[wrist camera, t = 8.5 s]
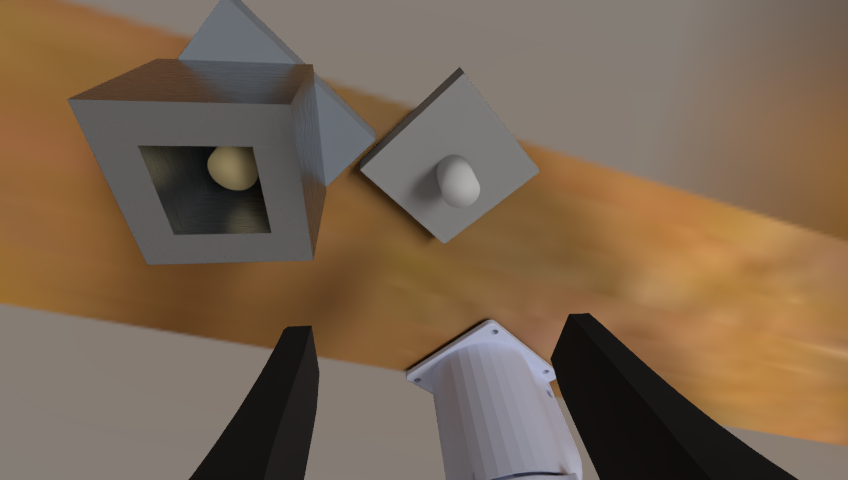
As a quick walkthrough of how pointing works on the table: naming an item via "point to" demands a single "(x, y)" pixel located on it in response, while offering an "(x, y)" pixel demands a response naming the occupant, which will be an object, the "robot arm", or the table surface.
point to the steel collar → (191, 148)
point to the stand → (449, 159)
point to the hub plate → (254, 42)
